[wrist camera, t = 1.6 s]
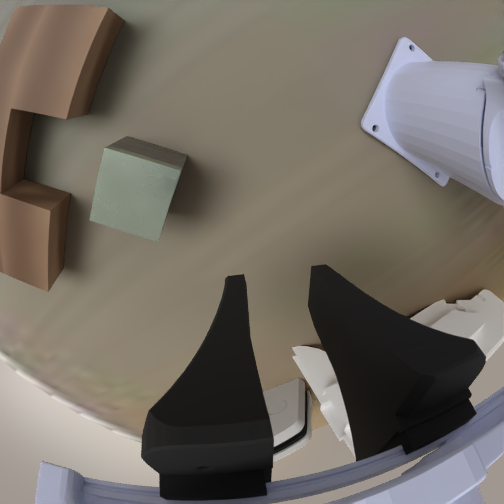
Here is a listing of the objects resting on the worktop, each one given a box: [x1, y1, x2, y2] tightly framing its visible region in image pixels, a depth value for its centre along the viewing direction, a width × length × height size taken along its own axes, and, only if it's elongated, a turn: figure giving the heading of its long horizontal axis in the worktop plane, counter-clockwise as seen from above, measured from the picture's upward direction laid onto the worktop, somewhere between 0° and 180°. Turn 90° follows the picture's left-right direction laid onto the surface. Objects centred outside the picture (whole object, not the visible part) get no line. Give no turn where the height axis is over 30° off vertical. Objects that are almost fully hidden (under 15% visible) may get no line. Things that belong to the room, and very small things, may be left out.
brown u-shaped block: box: [0, 5, 124, 292], centre depth 13 cm, size 7×18×3 cm, turn 157°
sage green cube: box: [90, 136, 188, 242], centre depth 15 cm, size 4×4×4 cm
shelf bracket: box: [292, 289, 504, 458], centre depth 24 cm, size 6×25×13 cm, turn 97°
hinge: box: [263, 378, 313, 462], centre depth 27 cm, size 17×5×10 cm, turn 117°
